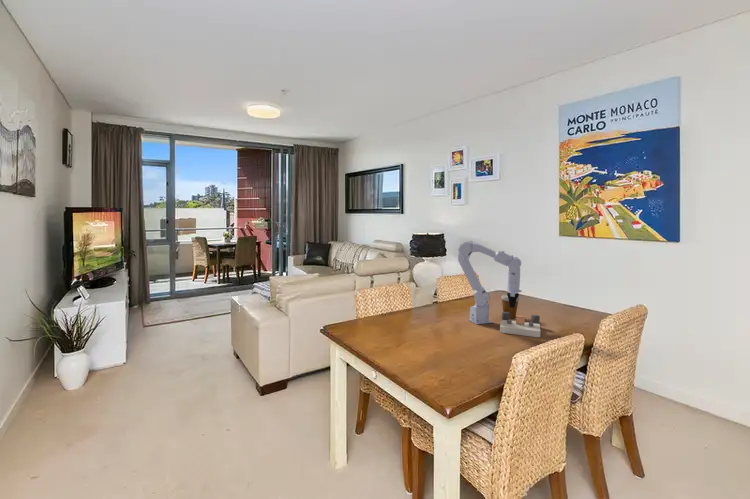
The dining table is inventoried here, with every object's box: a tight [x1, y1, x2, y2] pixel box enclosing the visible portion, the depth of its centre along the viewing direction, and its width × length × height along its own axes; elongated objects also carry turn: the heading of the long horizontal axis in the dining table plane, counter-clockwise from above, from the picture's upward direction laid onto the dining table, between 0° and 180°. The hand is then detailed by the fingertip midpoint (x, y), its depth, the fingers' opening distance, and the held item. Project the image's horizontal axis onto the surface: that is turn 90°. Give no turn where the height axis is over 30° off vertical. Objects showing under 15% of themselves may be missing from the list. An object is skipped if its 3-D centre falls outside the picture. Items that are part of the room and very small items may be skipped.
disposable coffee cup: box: [500, 293, 520, 320], centre depth 205 cm, size 10×10×12 cm
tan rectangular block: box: [515, 314, 526, 325], centre depth 182 cm, size 1×4×4 cm, turn 67°
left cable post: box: [501, 311, 511, 320], centre depth 193 cm, size 4×4×6 cm
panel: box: [499, 319, 541, 338], centre depth 182 cm, size 12×18×5 cm, turn 68°
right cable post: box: [530, 314, 540, 324], centre depth 188 cm, size 4×4×6 cm
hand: (512, 307), depth 189 cm, fingers closed
